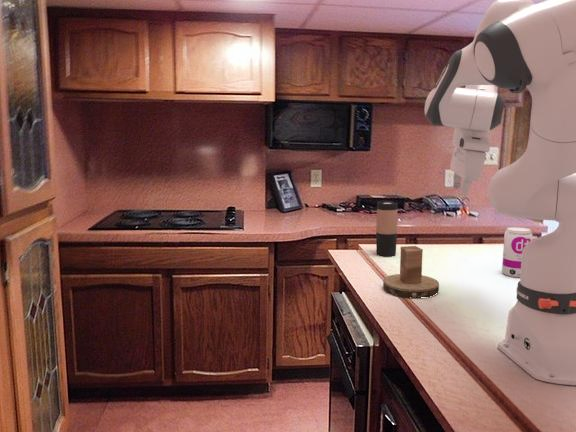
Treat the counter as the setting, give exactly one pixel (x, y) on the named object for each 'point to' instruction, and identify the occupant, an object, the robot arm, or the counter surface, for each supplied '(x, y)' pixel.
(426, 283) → the wood slice
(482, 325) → the counter surface
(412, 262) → the walnut block
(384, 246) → the travel mug
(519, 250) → the supplement can
